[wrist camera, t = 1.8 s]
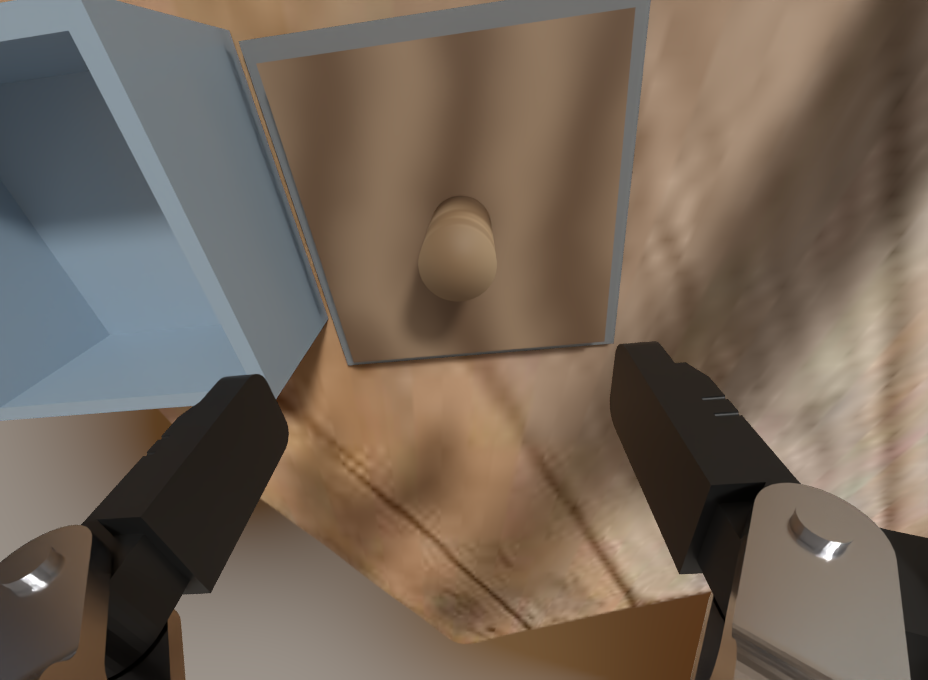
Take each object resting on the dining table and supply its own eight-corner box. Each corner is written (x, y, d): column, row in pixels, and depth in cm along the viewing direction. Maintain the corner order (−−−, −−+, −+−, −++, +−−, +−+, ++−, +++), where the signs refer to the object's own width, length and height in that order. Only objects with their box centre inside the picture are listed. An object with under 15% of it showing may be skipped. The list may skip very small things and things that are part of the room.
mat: (648, -20, 16) (653, -23, 16) (611, 339, 26) (613, 343, 25) (244, 42, 18) (238, 41, 17) (350, 361, 27) (348, 365, 27)
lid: (625, 12, 17) (704, -31, 11) (599, 331, 25) (635, 400, 19) (268, 65, 18) (173, 51, 12) (358, 352, 26) (326, 422, 21)
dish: (229, 30, 18) (76, -10, 11) (328, 318, 25) (276, 399, 19) (-65, 76, 19) (-369, 65, 12) (117, 338, 27) (-3, 420, 20)
